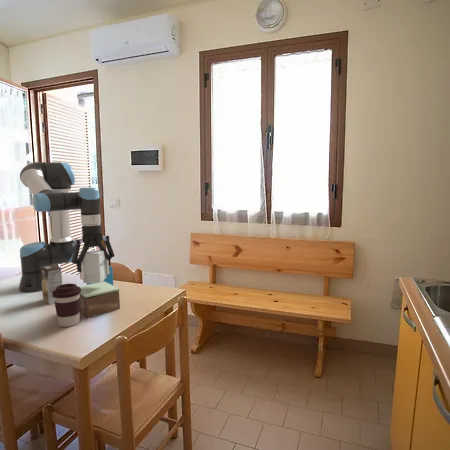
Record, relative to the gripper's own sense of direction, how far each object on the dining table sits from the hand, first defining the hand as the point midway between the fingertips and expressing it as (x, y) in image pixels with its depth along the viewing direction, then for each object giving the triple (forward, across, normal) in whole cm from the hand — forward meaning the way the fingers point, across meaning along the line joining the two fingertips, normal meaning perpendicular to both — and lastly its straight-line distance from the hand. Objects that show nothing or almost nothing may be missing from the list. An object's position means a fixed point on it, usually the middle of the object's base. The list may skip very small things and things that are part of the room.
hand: (95, 276), depth 139 cm
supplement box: (+2, 0, 0) cm, 2 cm away
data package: (+15, +12, +24) cm, 31 cm away
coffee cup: (+15, -14, -7) cm, 21 cm away
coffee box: (+15, -10, +25) cm, 31 cm away
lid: (+6, 0, 0) cm, 6 cm away
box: (+14, 0, 0) cm, 14 cm away
